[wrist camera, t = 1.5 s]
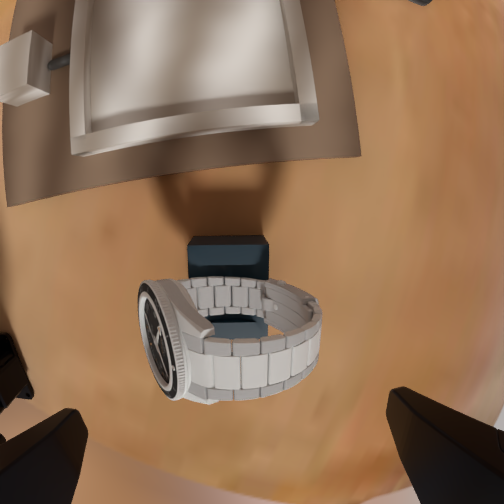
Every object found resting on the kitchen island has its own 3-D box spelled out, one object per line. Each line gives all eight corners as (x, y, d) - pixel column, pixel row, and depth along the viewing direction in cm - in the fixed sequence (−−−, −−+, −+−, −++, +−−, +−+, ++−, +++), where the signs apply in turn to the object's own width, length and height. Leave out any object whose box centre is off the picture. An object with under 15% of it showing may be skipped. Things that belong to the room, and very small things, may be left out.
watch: (162, 236, 20) (95, 293, 9) (291, 235, 20) (354, 290, 10) (168, 319, 21) (124, 429, 10) (288, 318, 22) (334, 426, 11)
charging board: (15, 205, 19) (-19, 211, 15) (23, 1, 15) (0, -17, 11) (355, 157, 20) (382, 152, 16) (313, -54, 16) (326, -83, 12)
